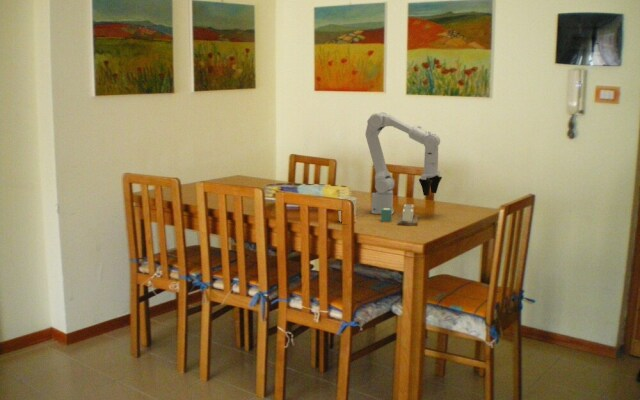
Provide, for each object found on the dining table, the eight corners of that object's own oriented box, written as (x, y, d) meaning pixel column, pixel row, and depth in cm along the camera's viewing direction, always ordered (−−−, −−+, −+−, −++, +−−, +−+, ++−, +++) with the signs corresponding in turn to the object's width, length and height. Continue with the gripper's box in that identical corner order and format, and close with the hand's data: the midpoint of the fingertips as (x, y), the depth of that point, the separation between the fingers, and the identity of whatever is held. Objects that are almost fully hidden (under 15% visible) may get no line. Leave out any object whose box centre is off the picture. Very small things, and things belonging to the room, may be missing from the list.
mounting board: (397, 225, 281) (397, 220, 281) (399, 217, 296) (399, 213, 296) (417, 225, 280) (417, 221, 279) (418, 217, 295) (418, 213, 295)
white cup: (343, 219, 292) (343, 195, 291) (359, 221, 288) (360, 197, 287) (334, 222, 286) (334, 198, 284) (351, 224, 282) (351, 200, 280)
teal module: (381, 221, 288) (381, 209, 287) (382, 219, 292) (382, 207, 291) (390, 222, 287) (391, 210, 286) (391, 219, 291) (391, 208, 290)
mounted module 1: (403, 215, 291) (403, 205, 290) (404, 213, 295) (404, 204, 295) (413, 215, 290) (413, 206, 290) (413, 213, 295) (413, 204, 294)
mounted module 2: (402, 220, 280) (402, 210, 280) (402, 218, 285) (403, 208, 284) (412, 221, 280) (412, 211, 279) (412, 218, 284) (412, 209, 283)
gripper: (432, 165, 286) (431, 197, 288) (446, 161, 298) (445, 192, 300) (417, 164, 290) (416, 195, 292) (431, 160, 301) (430, 191, 304)
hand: (429, 194), depth 296 cm, fingers open, 7 cm apart
